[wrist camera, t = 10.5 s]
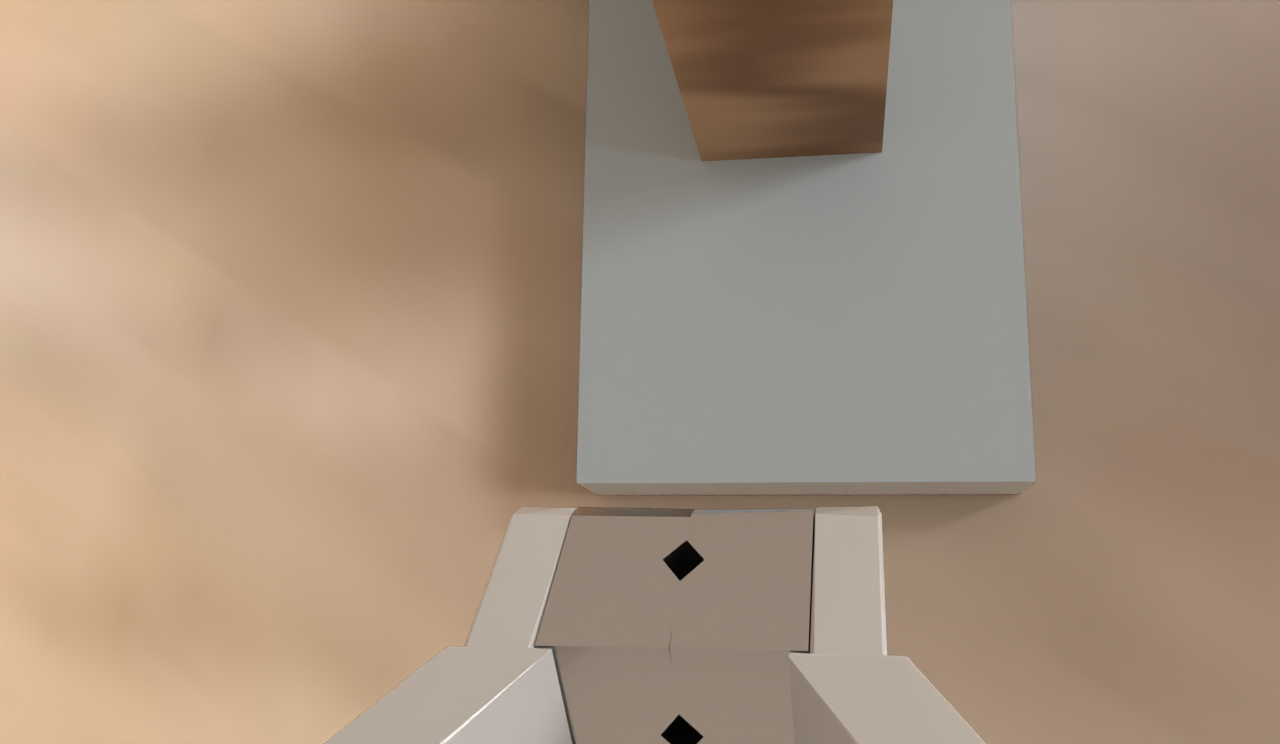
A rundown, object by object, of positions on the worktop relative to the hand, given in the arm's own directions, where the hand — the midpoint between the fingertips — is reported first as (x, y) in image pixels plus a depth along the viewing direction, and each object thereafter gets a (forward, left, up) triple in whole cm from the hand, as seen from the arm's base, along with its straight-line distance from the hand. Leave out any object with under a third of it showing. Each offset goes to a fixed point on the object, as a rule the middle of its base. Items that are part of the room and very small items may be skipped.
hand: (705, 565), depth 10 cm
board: (0, -11, -25) cm, 27 cm away
